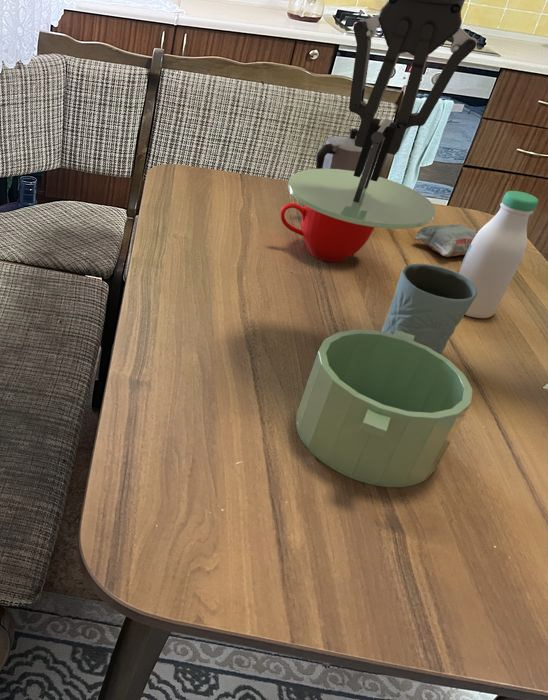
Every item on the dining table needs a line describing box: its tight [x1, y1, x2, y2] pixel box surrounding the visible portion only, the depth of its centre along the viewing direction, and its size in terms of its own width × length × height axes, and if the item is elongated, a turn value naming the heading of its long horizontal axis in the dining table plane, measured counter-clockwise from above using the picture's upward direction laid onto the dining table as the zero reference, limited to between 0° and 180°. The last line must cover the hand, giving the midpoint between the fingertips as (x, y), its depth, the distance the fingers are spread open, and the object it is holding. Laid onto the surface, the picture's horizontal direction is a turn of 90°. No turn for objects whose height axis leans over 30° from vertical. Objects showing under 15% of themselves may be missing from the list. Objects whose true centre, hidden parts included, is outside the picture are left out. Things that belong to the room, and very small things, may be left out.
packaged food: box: [414, 223, 479, 258], centre depth 132 cm, size 9×12×5 cm
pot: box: [295, 329, 473, 488], centre depth 82 cm, size 17×22×10 cm
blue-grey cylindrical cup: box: [380, 263, 477, 355], centre depth 99 cm, size 10×10×12 cm
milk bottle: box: [456, 190, 539, 319], centre depth 110 cm, size 8×8×20 cm
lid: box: [287, 118, 436, 230], centre depth 84 cm, size 18×18×10 cm
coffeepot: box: [315, 128, 362, 171], centre depth 139 cm, size 15×9×18 cm, turn 122°
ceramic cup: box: [279, 202, 375, 263], centre depth 125 cm, size 13×17×10 cm
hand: (366, 175), depth 85 cm, fingers closed on lid
